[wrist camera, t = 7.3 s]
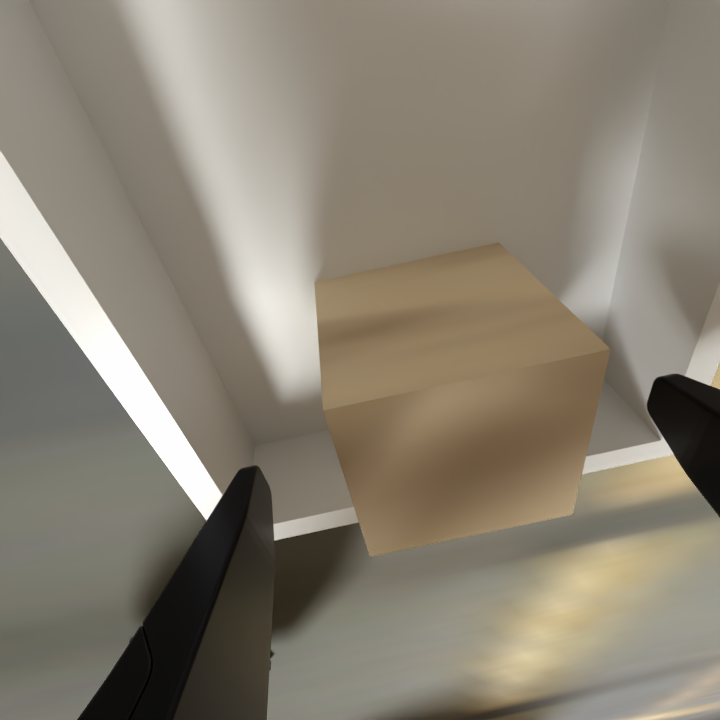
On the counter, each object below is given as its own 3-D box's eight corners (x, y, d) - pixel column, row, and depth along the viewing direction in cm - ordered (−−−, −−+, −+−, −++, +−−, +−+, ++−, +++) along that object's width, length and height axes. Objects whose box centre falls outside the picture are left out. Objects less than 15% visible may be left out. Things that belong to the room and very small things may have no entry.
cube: (495, 383, 14) (572, 514, 10) (349, 414, 14) (369, 556, 10) (498, 242, 11) (610, 349, 7) (314, 281, 11) (323, 410, 7)
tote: (602, 369, 15) (681, 453, 12) (242, 448, 16) (228, 550, 12) (776, -453, 6) (1299, -1002, 3) (-121, -230, 6) (-547, -513, 3)
